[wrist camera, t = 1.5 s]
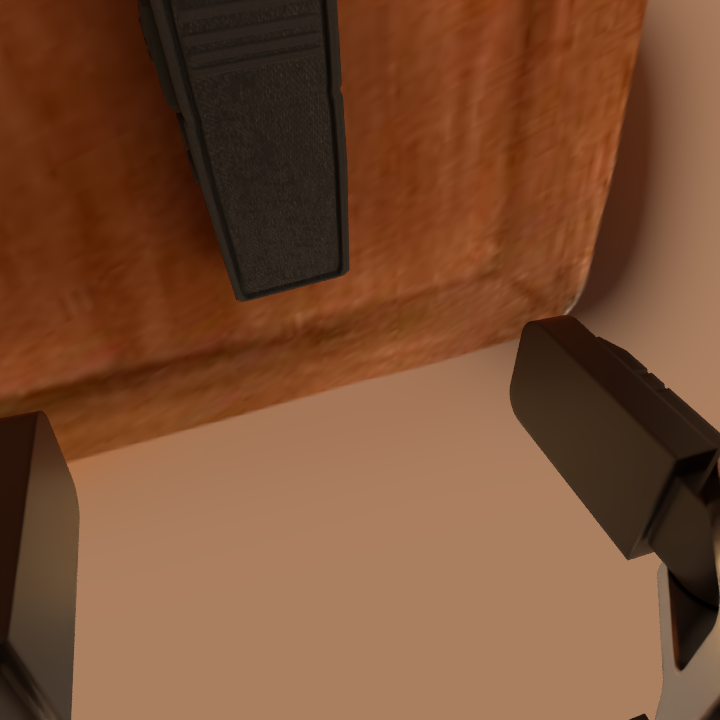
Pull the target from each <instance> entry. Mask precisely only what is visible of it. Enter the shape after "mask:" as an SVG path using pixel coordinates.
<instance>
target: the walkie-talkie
mask: <svg viewBox="0 0 720 720" xmlns="http://www.w3.org/2000/svg"><path fill="white" fill-rule="evenodd" d="M137 2H138V9H139V14H140V17H139V22H140V25H141V29H142V32H143V35H144V39H145V43H146V46H147V49H148V53H149V56H150V60H151V61H153V62H154V65H155V69H156V72H157V75H158V78H159V82H160V85H161V88H162V91H163V94H164V97H165V99H166V102H167V104H168V105H169V107H170V108H171V109H178V112H179V113H176V116H177V121H178V125H179V128H180V132H181V135H182V138H183V142H184V145H185V147H186V149H189V150H187V157H188V160H189V164H190V168H191V171H192V174H193V177H194V180H195V182H196V184H199V185H200V187H201V190H202V193H203V196H204V200H205V203H206V206H207V209H208V212H209V215H210V219H211V222H212V225H213V228H214V231H215V234H216V238H217V241H218V244H219V247H220V250H221V254H222V257H223V260H224V263H225V266H226V269H227V272H228V275H229V279H230V282H231V285H232V288H233V291H234V294H235V297H236V300H239V301H242V302H244V301H249V300H253V299H257V298H261V297H264V296H268V295H272V294H276V293H280V292H283V291H287V290H291V289H295V288H299V287H302V286H306V285H310V284H314V283H318V282H321V281H325V280H329V279H333V278H337V277H339V276H343V275H344V274H346V273H347V272H348V271H349V231H348V183H347V154H346V138H345V123H344V108H343V96H342V93H341V92H340V86H341V64H340V47H339V31H338V16H337V1H336V0H137Z"/></svg>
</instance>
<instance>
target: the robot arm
mask: <svg viewBox="0 0 720 720" xmlns="http://www.w3.org/2000/svg"><path fill="white" fill-rule="evenodd" d="M510 401H511V405H512V408H513V411H514V414H515V415H516V417H517V419H518V420H519V422H520V423H521V424H522V426H523V427H524V428H525V429H526V431H527V432H528V433H529V434H530V436H531V437H532V438H533V440H534V441H535V442H536V444H537V445H538V446H539V447H540V448H541V450H542V451H543V452H544V454H545V455H546V456H547V458H548V459H549V460H550V461H551V463H552V464H553V465H554V467H555V468H556V469H557V470H558V472H559V473H560V474H561V476H562V477H563V478H564V479H565V481H566V482H567V483H568V484H569V486H570V487H571V488H572V489H573V491H574V492H575V493H576V495H577V496H578V497H579V499H580V500H581V501H582V502H583V504H584V505H585V506H586V508H587V509H588V510H589V511H590V513H591V514H592V515H593V517H594V518H595V519H596V520H597V522H598V523H599V524H600V525H601V527H602V528H603V529H604V531H605V532H606V533H607V534H608V536H609V537H610V538H611V540H612V541H613V542H614V543H615V545H616V546H617V547H618V548H619V550H620V551H621V552H622V554H623V555H624V556H625V558H626V559H627V560H630V559H633V558H637V557H639V556H643V555H646V554H649V553H652V552H655V553H656V554H657V555H658V557H659V558H660V559H661V560H662V563H661V564H660V566H659V569H658V573H657V580H658V599H659V616H660V633H661V651H662V668H663V685H662V693H661V698H660V701H659V704H658V708H657V712H656V717H655V720H720V433H719V432H718V431H717V430H716V429H715V428H714V427H713V426H711V425H710V424H709V423H708V422H707V421H706V420H705V419H703V418H702V417H701V416H700V415H699V414H698V413H697V412H696V411H694V410H693V409H692V408H691V407H690V406H689V405H688V404H686V403H685V402H684V401H683V400H682V399H681V398H680V397H678V396H677V395H676V394H675V393H674V392H673V391H672V390H671V389H669V388H668V389H666V388H665V386H664V383H663V382H661V381H660V380H659V379H658V378H657V377H656V376H655V375H654V374H652V373H648V372H647V368H646V367H644V366H643V365H642V364H641V363H640V362H639V361H638V360H637V359H635V358H634V357H633V356H632V355H631V354H630V353H629V352H627V351H626V350H624V349H622V348H620V347H618V346H616V345H614V344H612V343H610V342H608V341H607V340H604V339H603V338H601V337H595V335H593V334H592V333H591V332H590V331H589V330H588V329H587V328H586V327H585V326H584V325H582V324H581V323H580V322H579V321H578V320H577V319H576V318H574V317H572V316H570V315H562V316H557V317H552V318H546V319H541V320H535V321H530V322H528V323H527V324H526V325H525V326H524V328H523V331H522V334H521V339H520V343H519V348H518V352H517V357H516V361H515V366H514V371H513V375H512V380H511V384H510ZM78 540H79V506H78V499H77V494H76V489H75V485H74V482H73V479H72V477H71V474H70V472H69V469H68V467H67V464H66V462H65V459H64V457H63V454H62V452H61V449H60V447H59V444H58V442H57V439H56V437H55V434H54V432H53V429H52V427H51V424H50V422H49V420H48V418H47V416H46V414H45V413H44V412H43V411H36V412H31V413H26V414H20V415H15V416H9V417H4V418H0V720H71V708H72V684H73V660H74V636H75V611H76V588H77V565H78V564H77V563H78ZM630 720H649V719H648V718H647V716H646V715H645V714H642V715H640V716H637V717H635V718H632V719H630Z"/></svg>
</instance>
